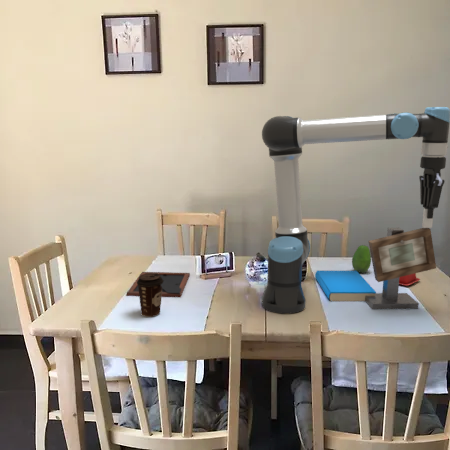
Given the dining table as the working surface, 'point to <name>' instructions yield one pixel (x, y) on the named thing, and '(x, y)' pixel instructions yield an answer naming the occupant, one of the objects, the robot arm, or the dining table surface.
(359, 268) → the avocado
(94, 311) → the dining table surface
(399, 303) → the frame stand
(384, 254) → the picture frame
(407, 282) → the butter dish
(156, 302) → the coffee cup
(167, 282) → the picture frame
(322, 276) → the book
